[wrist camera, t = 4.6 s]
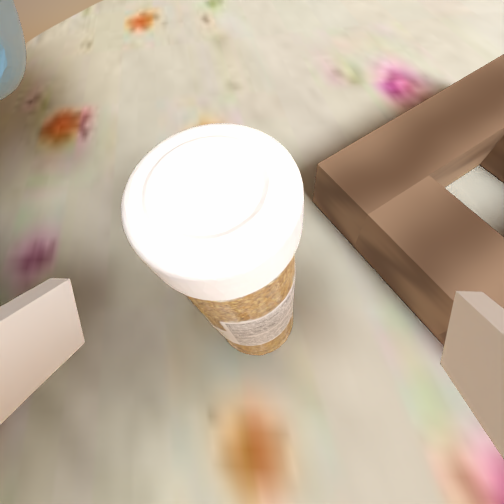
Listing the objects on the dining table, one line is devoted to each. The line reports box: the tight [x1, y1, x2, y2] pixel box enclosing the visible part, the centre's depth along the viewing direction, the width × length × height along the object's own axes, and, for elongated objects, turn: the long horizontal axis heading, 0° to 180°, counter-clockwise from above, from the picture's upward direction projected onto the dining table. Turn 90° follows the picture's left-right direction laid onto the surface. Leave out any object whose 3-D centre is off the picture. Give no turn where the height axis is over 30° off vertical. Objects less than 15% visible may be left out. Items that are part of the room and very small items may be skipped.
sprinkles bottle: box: [121, 123, 304, 355], centre depth 13 cm, size 5×5×13 cm
